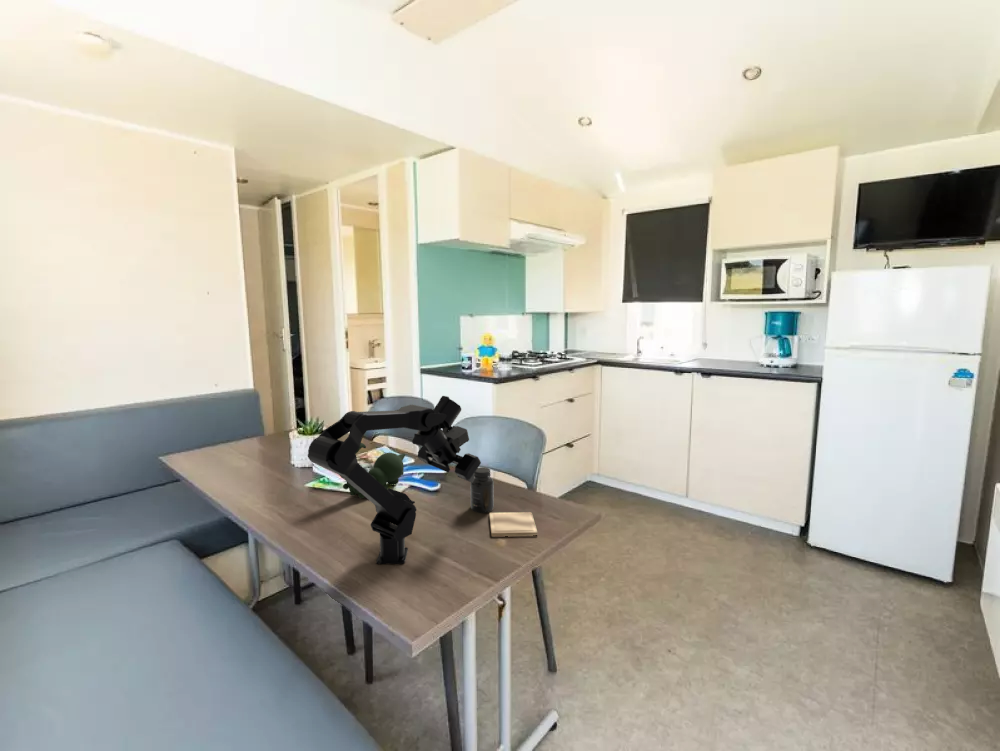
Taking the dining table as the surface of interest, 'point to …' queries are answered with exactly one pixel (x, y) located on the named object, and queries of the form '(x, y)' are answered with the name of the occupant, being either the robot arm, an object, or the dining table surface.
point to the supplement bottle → (482, 491)
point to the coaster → (512, 524)
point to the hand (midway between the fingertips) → (460, 475)
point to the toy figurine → (383, 470)
